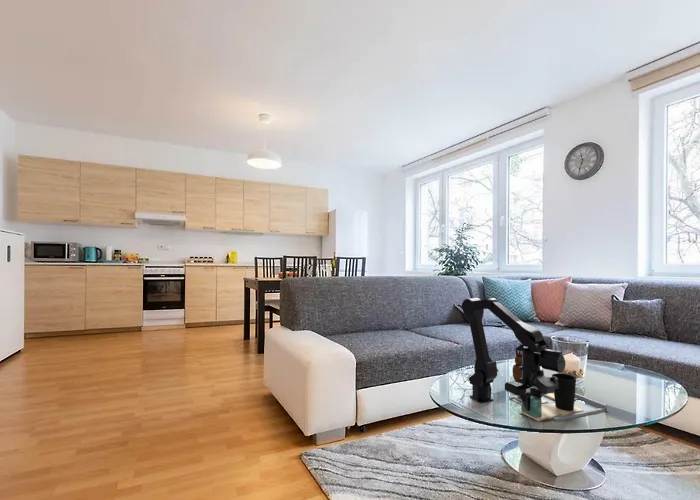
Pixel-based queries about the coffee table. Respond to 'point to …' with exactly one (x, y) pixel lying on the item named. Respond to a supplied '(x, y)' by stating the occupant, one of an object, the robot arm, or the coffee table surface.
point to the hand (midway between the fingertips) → (531, 410)
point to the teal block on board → (545, 410)
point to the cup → (565, 392)
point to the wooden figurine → (517, 367)
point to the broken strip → (550, 395)
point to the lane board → (588, 407)
